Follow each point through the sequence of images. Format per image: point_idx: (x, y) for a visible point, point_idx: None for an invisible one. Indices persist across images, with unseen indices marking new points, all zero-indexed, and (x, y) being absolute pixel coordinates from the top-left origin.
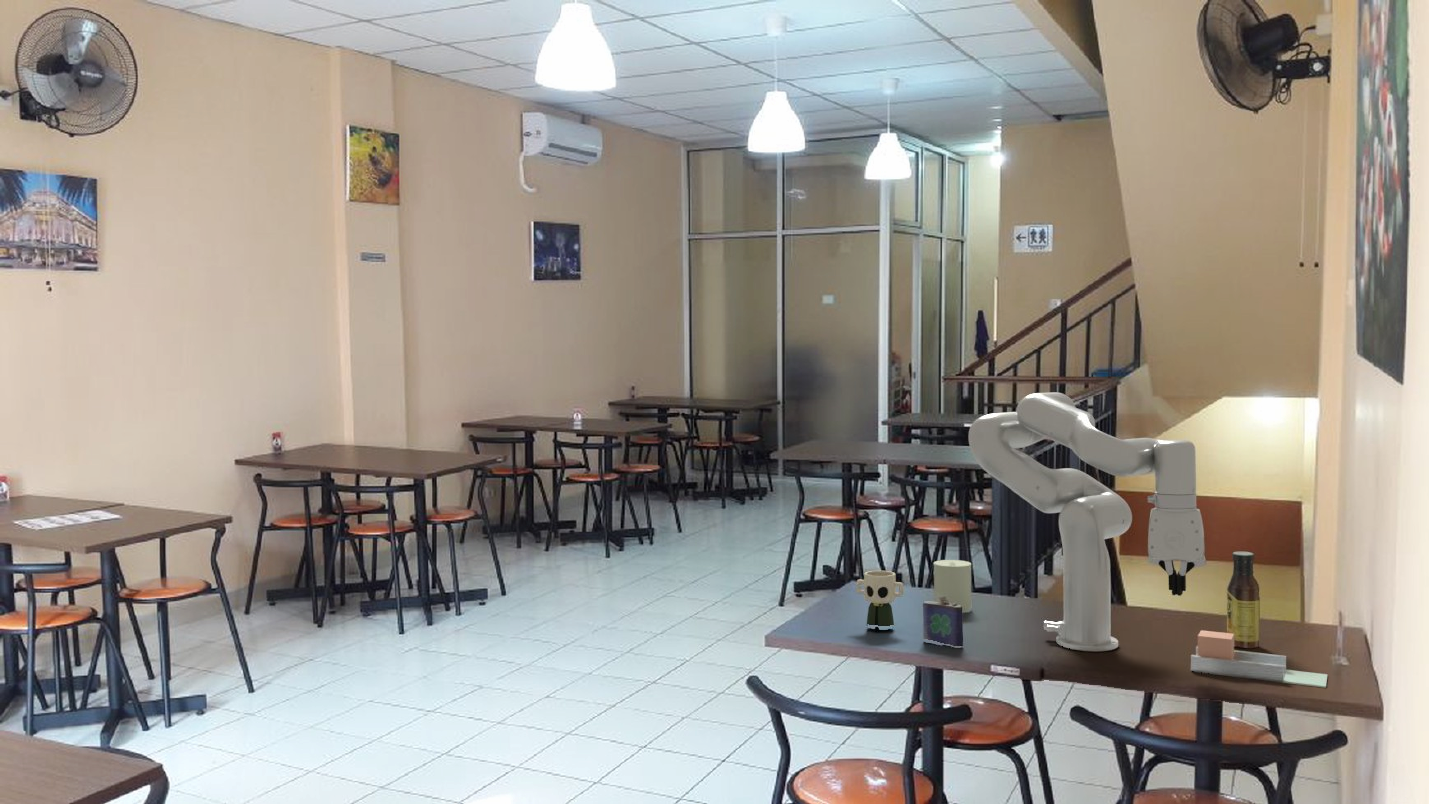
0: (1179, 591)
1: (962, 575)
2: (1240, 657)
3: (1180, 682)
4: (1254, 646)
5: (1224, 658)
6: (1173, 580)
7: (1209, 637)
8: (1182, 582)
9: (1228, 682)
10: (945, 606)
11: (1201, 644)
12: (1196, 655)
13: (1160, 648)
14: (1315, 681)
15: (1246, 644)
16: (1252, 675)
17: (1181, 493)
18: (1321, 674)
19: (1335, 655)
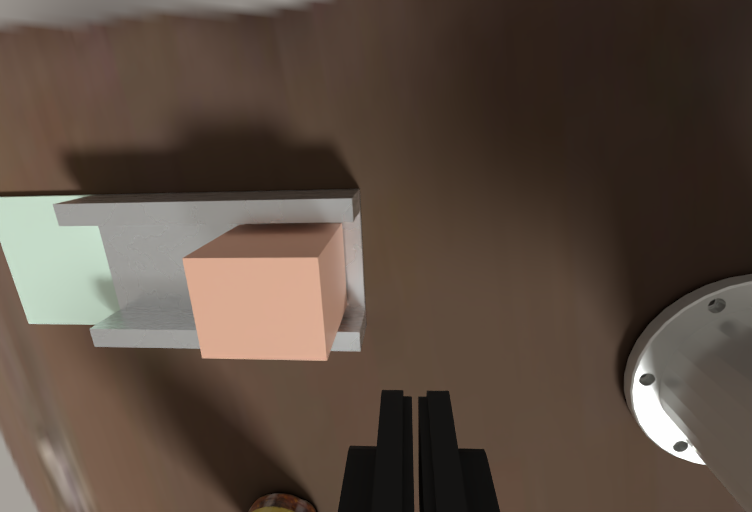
0: (387, 407)
1: None
2: None
3: (365, 14)
4: (253, 504)
5: (240, 223)
6: (445, 493)
7: (269, 257)
8: (360, 505)
9: (226, 109)
10: None
11: (311, 246)
12: (335, 218)
13: (488, 416)
14: (24, 235)
15: (267, 501)
16: (170, 194)
17: None
18: (39, 316)
19: (86, 507)
